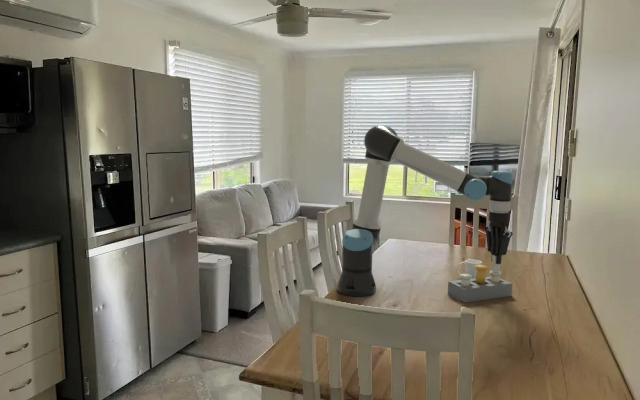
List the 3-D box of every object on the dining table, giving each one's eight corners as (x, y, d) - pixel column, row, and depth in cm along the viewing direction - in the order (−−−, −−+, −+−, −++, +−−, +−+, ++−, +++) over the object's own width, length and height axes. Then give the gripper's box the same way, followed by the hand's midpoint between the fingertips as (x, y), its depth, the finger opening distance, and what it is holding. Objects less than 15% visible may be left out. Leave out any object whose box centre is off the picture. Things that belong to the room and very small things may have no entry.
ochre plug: (479, 285, 176) (480, 268, 175) (471, 281, 180) (472, 265, 180) (488, 284, 178) (489, 267, 177) (481, 280, 182) (482, 264, 181)
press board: (464, 302, 171) (464, 289, 171) (447, 293, 181) (448, 281, 180) (511, 295, 179) (512, 283, 178) (493, 287, 188) (494, 275, 188)
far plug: (493, 290, 179) (494, 274, 178) (486, 287, 183) (487, 270, 182) (502, 289, 181) (504, 273, 180) (495, 286, 185) (496, 269, 184)
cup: (480, 282, 195) (481, 264, 193) (455, 279, 198) (456, 261, 197) (481, 278, 201) (482, 260, 200) (457, 275, 205) (458, 257, 204)
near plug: (463, 294, 174) (464, 277, 173) (456, 290, 178) (457, 274, 178) (473, 293, 176) (474, 276, 175) (465, 289, 180) (466, 273, 179)
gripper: (519, 213, 173) (515, 275, 176) (495, 208, 185) (491, 266, 188) (503, 214, 171) (499, 277, 174) (480, 209, 183) (476, 267, 186)
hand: (495, 271), depth 181 cm, fingers closed
